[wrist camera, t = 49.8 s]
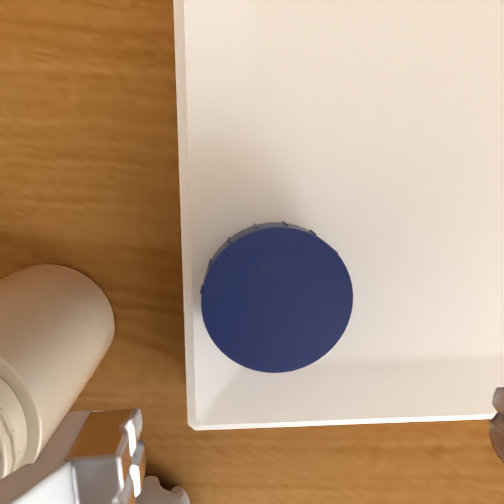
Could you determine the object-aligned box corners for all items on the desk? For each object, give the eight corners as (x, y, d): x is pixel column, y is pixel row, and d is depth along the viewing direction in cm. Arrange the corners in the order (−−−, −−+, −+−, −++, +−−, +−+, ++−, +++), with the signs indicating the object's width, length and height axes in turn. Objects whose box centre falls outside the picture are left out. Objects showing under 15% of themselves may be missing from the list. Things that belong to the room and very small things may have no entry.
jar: (104, 387, 23) (5, 565, 13) (-17, 365, 22) (-226, 535, 12) (124, 278, 21) (33, 378, 11) (-3, 251, 21) (-222, 331, 11)
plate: (190, 410, 23) (187, 433, 21) (174, -110, 18) (167, -146, 16) (609, 395, 25) (643, 415, 23) (711, -84, 20) (766, -113, 18)
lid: (306, 195, 19) (314, 198, 17) (365, 318, 21) (377, 331, 19) (176, 263, 19) (171, 272, 18) (243, 379, 21) (244, 398, 19)
